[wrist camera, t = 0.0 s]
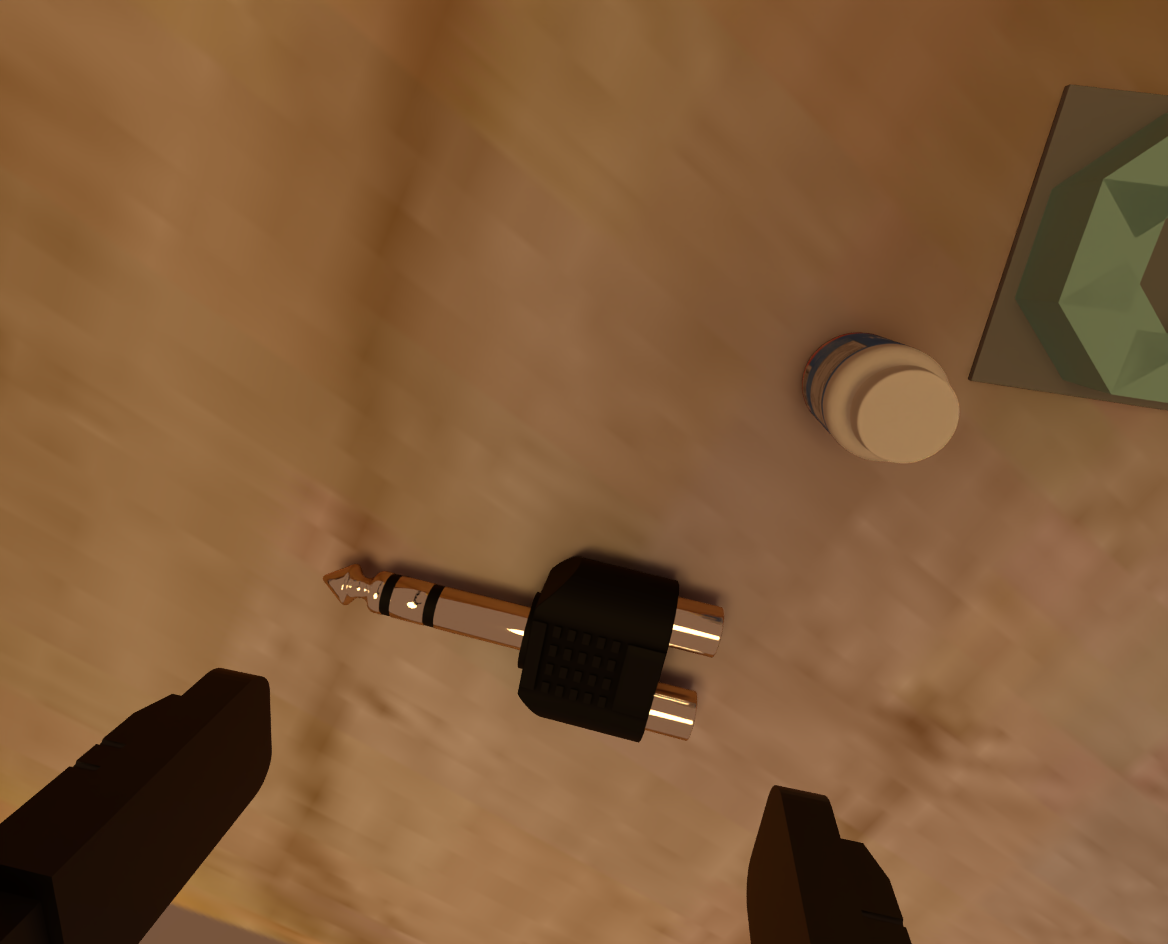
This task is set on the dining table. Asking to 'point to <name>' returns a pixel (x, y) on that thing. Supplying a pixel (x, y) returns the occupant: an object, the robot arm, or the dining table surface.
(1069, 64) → the dining table surface
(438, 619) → the audio adapter
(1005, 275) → the felt mat
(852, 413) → the pill bottle
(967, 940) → the dining table surface
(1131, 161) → the green faceted planter
